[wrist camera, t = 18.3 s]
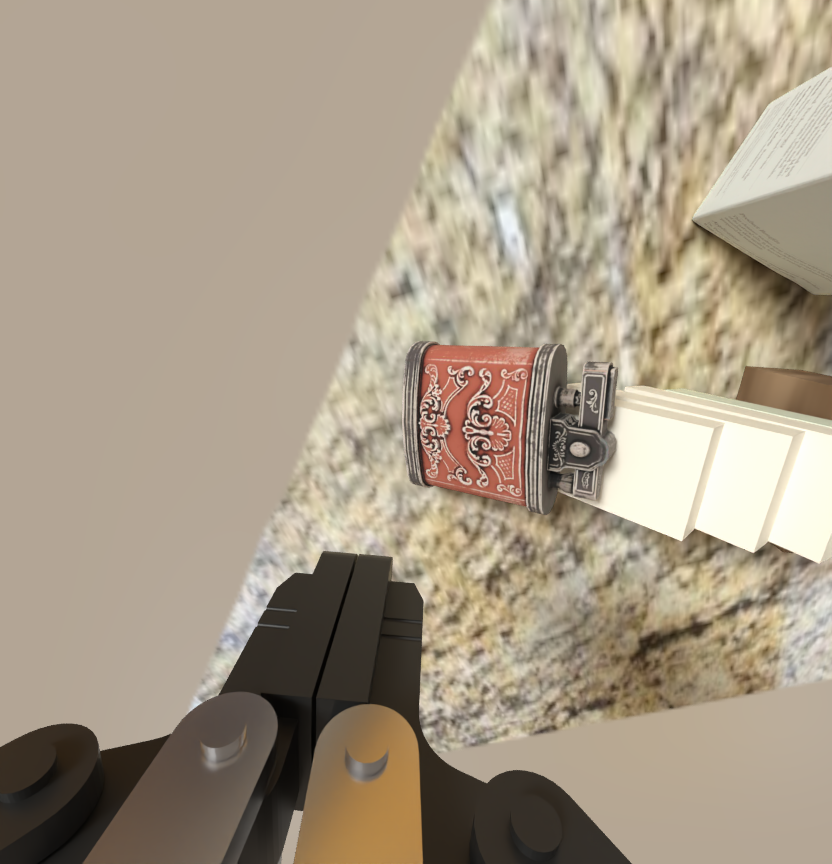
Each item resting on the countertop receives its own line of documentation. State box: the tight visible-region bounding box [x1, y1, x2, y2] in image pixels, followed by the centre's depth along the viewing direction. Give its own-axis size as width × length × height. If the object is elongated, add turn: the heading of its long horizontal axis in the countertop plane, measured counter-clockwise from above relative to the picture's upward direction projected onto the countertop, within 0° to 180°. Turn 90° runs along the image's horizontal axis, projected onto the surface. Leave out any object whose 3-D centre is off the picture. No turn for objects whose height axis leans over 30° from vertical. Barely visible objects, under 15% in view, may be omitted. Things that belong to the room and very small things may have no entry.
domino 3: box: [624, 386, 832, 564], centre depth 21 cm, size 2×5×10 cm, turn 176°
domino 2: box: [567, 383, 806, 553], centre depth 21 cm, size 2×5×10 cm
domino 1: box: [557, 391, 725, 541], centre depth 22 cm, size 2×5×10 cm
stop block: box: [736, 366, 832, 553], centre depth 23 cm, size 3×8×6 cm, turn 176°
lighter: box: [402, 341, 618, 515], centre depth 22 cm, size 8×3×10 cm
